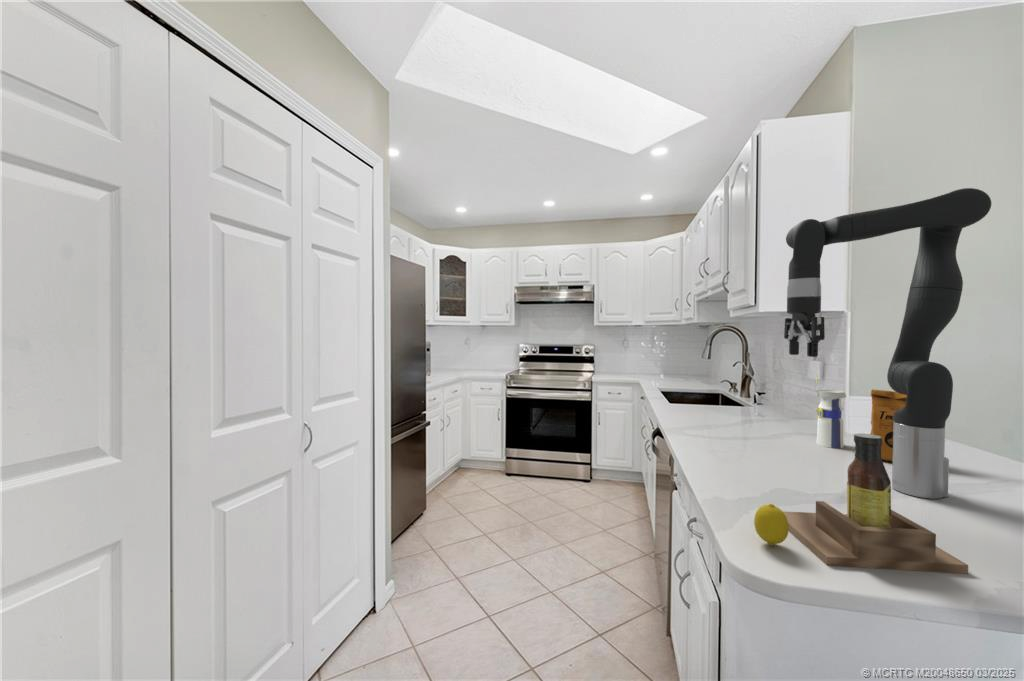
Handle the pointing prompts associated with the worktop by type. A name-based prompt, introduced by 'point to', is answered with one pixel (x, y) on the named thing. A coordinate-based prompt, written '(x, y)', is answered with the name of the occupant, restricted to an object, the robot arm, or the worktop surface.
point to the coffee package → (885, 418)
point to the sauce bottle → (868, 484)
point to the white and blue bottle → (830, 418)
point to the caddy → (870, 542)
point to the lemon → (771, 524)
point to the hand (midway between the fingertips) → (802, 355)
